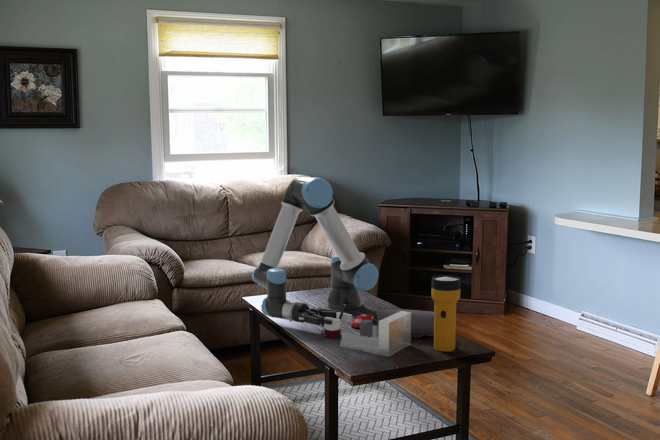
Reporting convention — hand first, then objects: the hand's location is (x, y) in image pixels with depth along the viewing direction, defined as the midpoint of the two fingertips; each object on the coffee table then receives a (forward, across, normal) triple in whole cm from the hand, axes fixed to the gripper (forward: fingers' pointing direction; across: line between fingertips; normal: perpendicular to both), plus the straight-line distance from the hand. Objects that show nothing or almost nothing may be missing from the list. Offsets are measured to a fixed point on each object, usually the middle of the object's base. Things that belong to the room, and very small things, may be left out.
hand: (345, 320), depth 253 cm
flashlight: (+35, -11, -7) cm, 37 cm away
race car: (-5, -20, -8) cm, 22 cm away
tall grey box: (+9, 0, -5) cm, 10 cm away
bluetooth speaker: (+17, -17, -7) cm, 25 cm away
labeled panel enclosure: (+13, 0, -7) cm, 15 cm away
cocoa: (-5, +1, -7) cm, 9 cm away
